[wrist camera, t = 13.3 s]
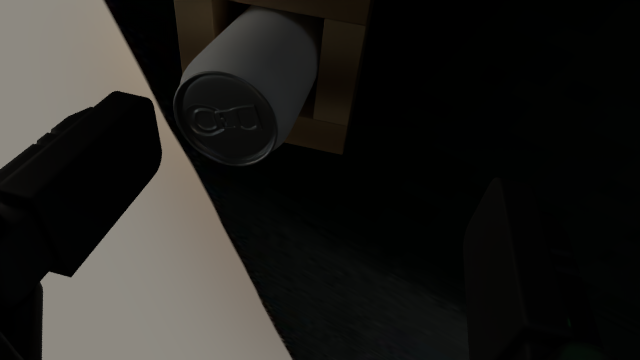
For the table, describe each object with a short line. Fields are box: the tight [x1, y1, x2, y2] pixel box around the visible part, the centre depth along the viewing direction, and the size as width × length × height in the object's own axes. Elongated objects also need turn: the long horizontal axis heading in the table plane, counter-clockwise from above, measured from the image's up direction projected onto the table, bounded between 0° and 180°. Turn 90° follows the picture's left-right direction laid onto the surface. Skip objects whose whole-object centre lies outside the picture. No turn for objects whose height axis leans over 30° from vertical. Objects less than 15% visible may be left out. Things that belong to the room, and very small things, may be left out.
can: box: [173, 5, 324, 166], centre depth 26 cm, size 6×6×12 cm
